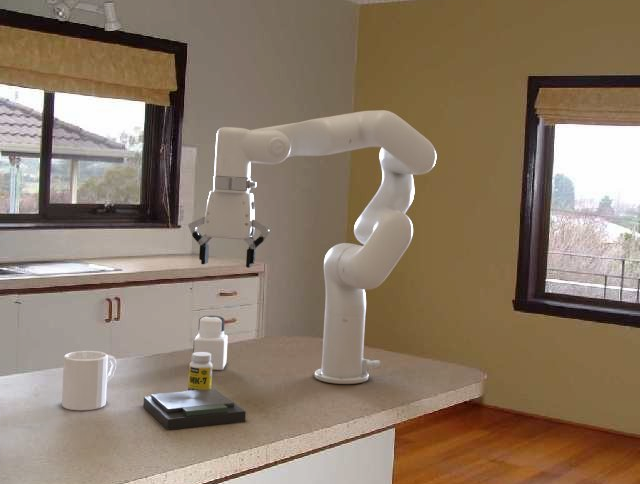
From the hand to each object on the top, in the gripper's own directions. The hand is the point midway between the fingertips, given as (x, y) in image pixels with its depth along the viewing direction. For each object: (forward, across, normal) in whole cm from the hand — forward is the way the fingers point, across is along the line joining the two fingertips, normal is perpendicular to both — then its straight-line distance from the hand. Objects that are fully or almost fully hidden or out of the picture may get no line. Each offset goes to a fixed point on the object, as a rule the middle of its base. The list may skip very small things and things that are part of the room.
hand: (226, 265), depth 188 cm
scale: (+27, 0, +18) cm, 33 cm away
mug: (+28, +22, +16) cm, 38 cm away
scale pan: (+25, +1, +18) cm, 31 cm away
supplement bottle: (+27, +3, +3) cm, 28 cm away
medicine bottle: (+27, +8, -20) cm, 35 cm away
